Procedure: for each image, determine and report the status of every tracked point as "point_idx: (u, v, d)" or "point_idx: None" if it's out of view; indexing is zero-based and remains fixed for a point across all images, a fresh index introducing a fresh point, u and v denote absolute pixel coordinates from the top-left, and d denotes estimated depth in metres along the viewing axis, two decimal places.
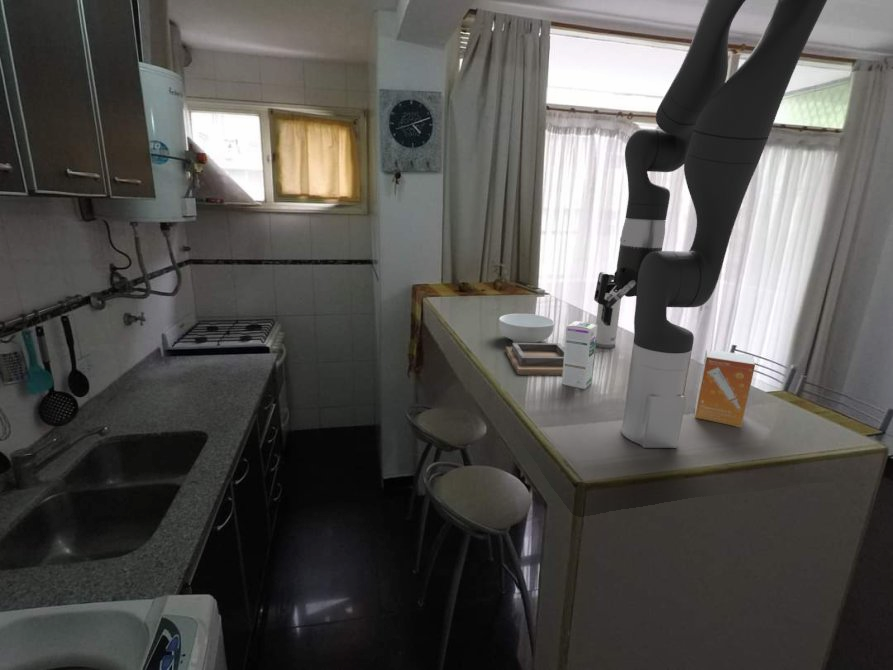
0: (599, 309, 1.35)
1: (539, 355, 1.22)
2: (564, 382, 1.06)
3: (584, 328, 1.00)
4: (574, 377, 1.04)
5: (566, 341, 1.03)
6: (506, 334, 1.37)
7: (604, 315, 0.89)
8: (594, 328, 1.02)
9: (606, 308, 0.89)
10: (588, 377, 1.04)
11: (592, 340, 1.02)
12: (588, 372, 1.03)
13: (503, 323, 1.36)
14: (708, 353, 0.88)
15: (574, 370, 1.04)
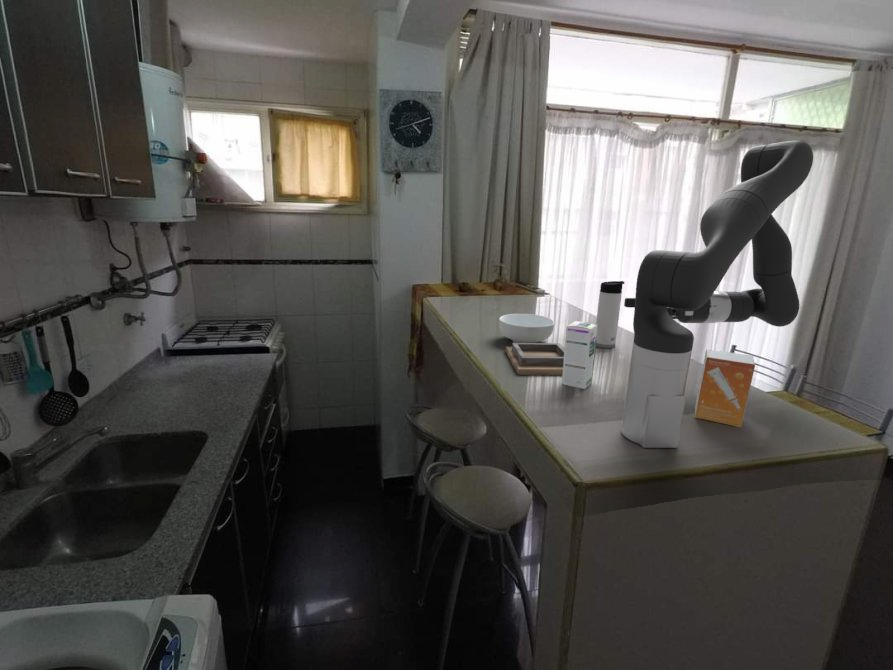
0: (599, 309, 1.35)
1: (539, 355, 1.22)
2: (564, 382, 1.06)
3: (584, 328, 1.00)
4: (574, 377, 1.04)
5: (566, 341, 1.03)
6: (506, 334, 1.37)
7: None
8: (594, 328, 1.02)
9: None
10: (588, 377, 1.04)
11: (592, 340, 1.02)
12: (588, 372, 1.03)
13: (503, 323, 1.36)
14: (708, 353, 0.88)
15: (574, 370, 1.04)
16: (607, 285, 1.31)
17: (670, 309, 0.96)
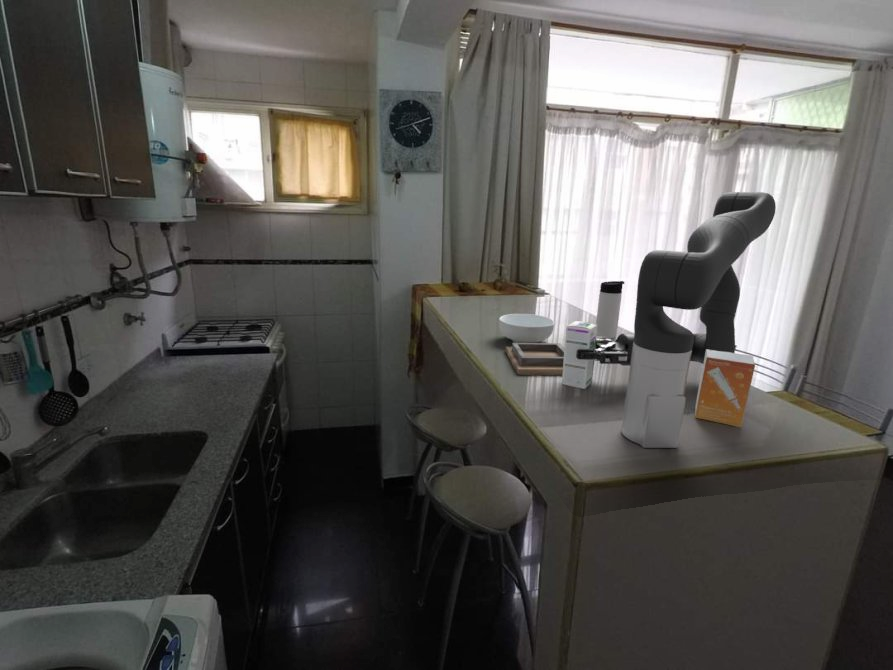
0: (599, 309, 1.35)
1: (539, 355, 1.22)
2: (564, 382, 1.06)
3: (584, 328, 1.00)
4: (574, 377, 1.04)
5: (566, 341, 1.03)
6: (506, 334, 1.37)
7: None
8: (594, 328, 1.02)
9: None
10: (588, 377, 1.04)
11: (592, 340, 1.02)
12: (588, 372, 1.03)
13: (503, 323, 1.36)
14: (708, 353, 0.88)
15: (574, 370, 1.04)
16: (607, 285, 1.31)
17: (603, 354, 0.98)
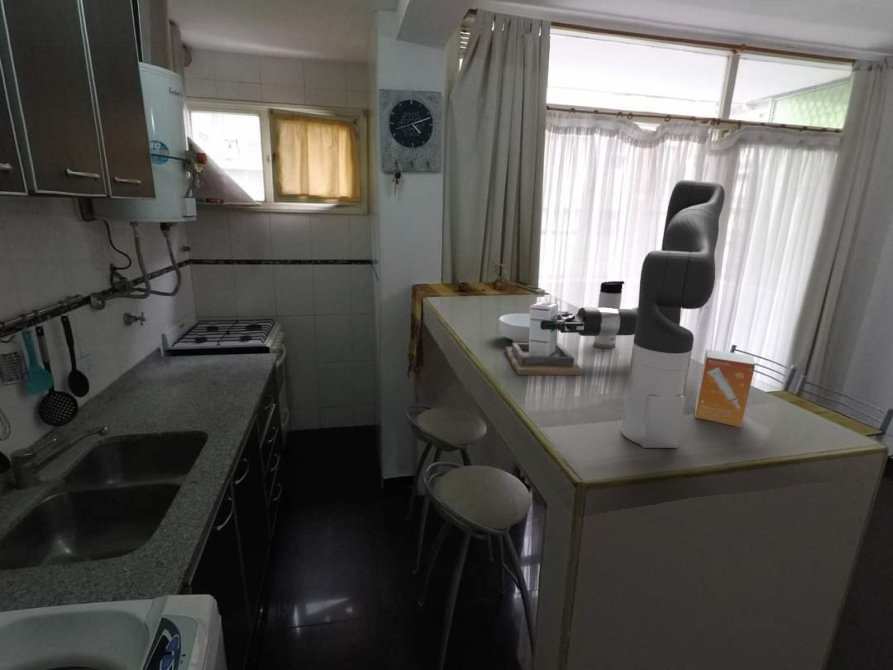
0: None
1: None
2: None
3: (545, 307, 1.14)
4: (539, 351, 1.18)
5: (531, 319, 1.17)
6: (506, 334, 1.37)
7: None
8: (555, 307, 1.16)
9: None
10: (551, 350, 1.18)
11: (553, 317, 1.16)
12: (551, 346, 1.17)
13: (503, 323, 1.36)
14: (708, 353, 0.88)
15: (539, 344, 1.17)
16: (607, 285, 1.31)
17: (563, 324, 1.11)
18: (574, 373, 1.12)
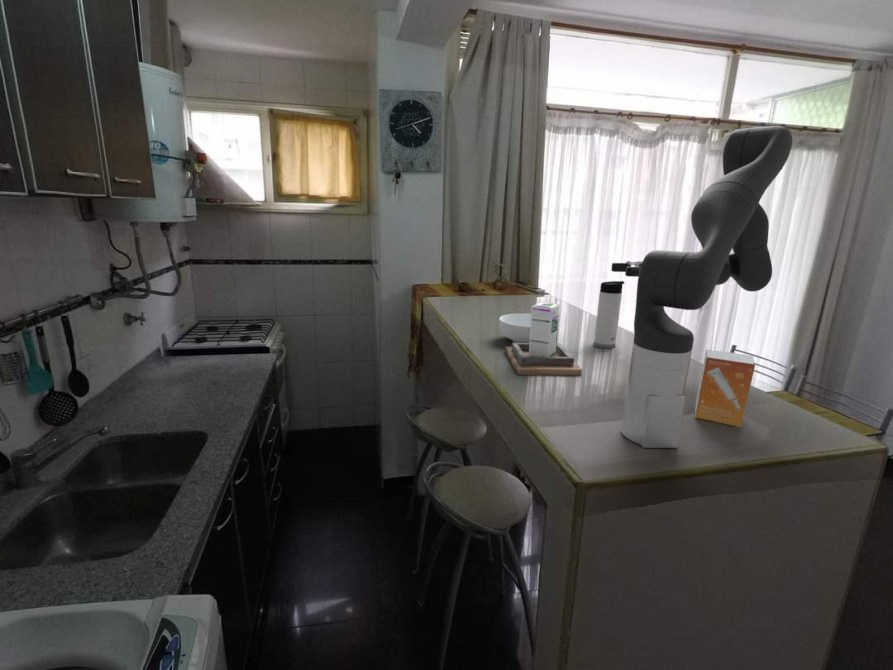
0: (599, 309, 1.35)
1: None
2: None
3: (547, 307, 1.14)
4: (539, 351, 1.18)
5: (532, 319, 1.17)
6: (506, 334, 1.37)
7: None
8: (556, 308, 1.16)
9: None
10: (551, 351, 1.18)
11: (554, 318, 1.16)
12: (551, 346, 1.17)
13: (503, 323, 1.36)
14: (708, 353, 0.88)
15: (539, 345, 1.17)
16: (607, 285, 1.31)
17: None
18: (574, 373, 1.12)
